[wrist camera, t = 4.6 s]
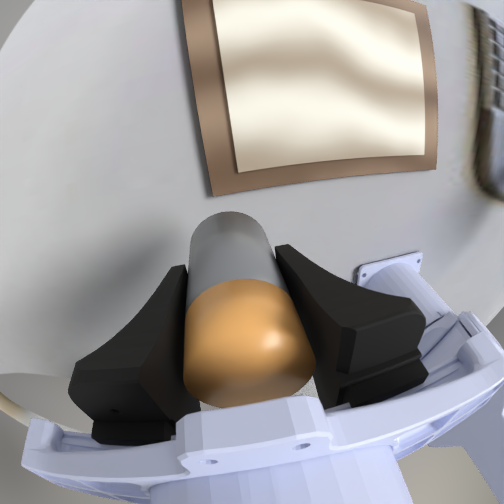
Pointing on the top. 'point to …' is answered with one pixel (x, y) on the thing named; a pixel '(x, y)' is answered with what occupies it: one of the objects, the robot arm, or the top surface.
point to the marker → (240, 318)
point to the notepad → (311, 89)
